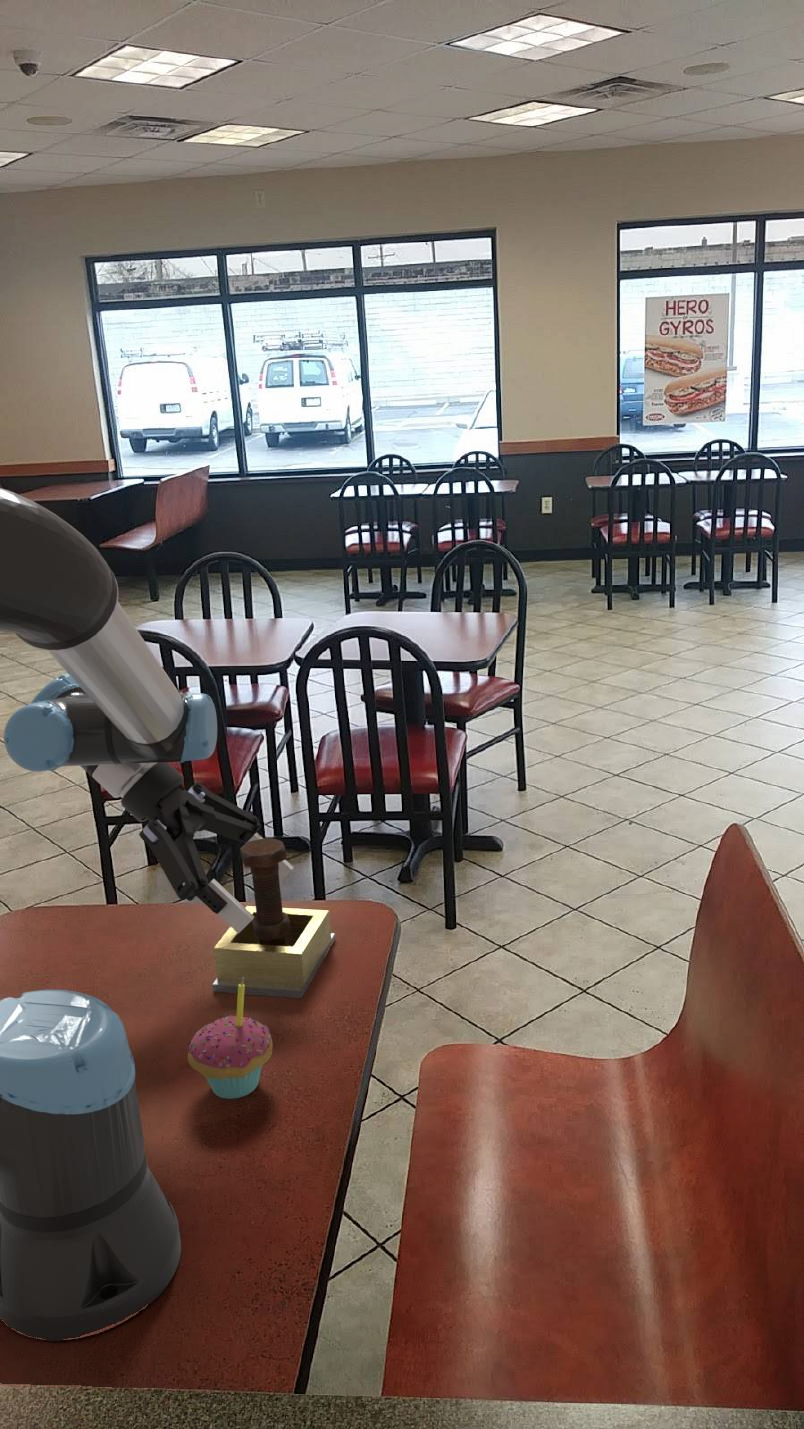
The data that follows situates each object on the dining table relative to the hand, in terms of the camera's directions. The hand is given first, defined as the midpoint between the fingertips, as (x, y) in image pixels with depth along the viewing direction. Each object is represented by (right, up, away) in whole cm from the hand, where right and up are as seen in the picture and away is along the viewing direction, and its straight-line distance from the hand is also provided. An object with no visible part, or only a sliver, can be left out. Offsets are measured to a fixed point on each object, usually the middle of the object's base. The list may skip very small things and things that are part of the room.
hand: (267, 899), depth 134 cm
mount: (+1, -9, +2) cm, 9 cm away
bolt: (+1, -8, +2) cm, 8 cm away
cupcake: (-1, -16, -21) cm, 26 cm away
